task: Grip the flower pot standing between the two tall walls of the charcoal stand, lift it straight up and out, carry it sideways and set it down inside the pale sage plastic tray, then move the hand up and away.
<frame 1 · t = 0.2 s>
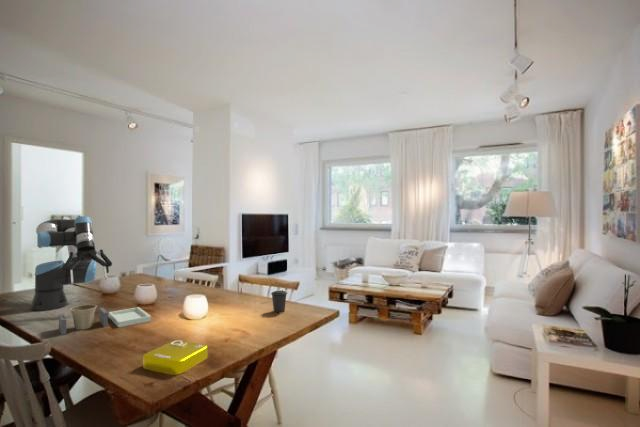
hand: (89, 281, 165), 16 cm above the table, tool tilted 35°, fingers open, 13 cm apart
coffee cup: (279, 311, 170), on the table
tray: (129, 319, 157), on the table
flower pot: (83, 328, 146), on the table
element tile: (176, 363, 112), on the table
walled stand: (83, 327, 146), on the table
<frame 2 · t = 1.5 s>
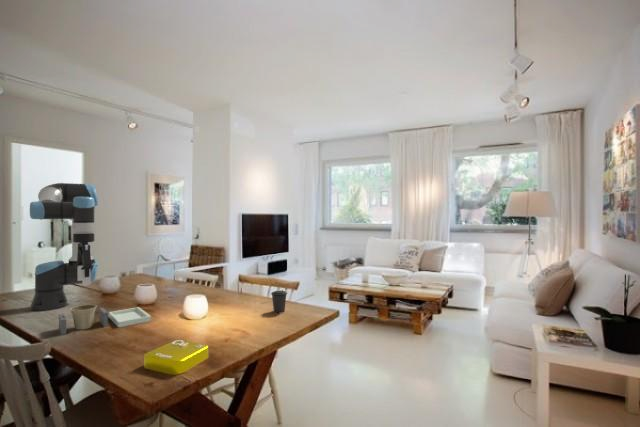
hand: (83, 282, 146), 19 cm above the table, tool pointing down, fingers open, 13 cm apart
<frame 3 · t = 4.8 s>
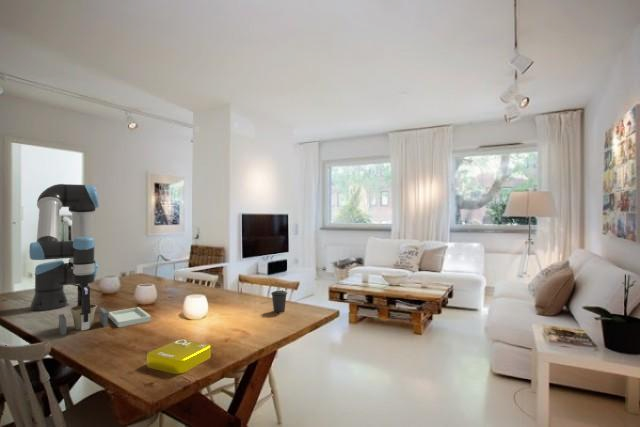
hand: (83, 326, 146), 0 cm above the table, tool pointing down, fingers closed on flower pot, 8 cm apart
flower pot: (83, 327, 146), on the table, touching gripper
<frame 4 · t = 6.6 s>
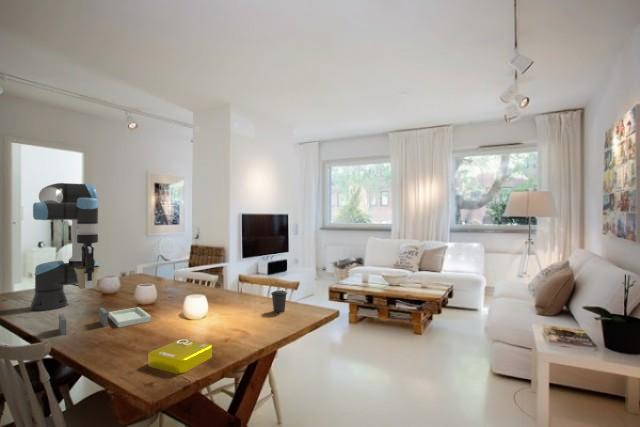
hand: (87, 286, 147), 17 cm above the table, tool pointing down, fingers closed on flower pot, 8 cm apart
flower pot: (87, 287, 147), point 17 cm above the table, touching gripper
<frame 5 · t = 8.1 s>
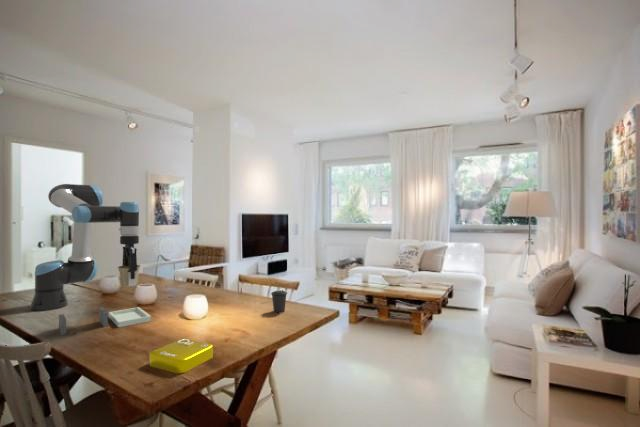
hand: (129, 284, 157), 16 cm above the table, tool pointing down, fingers closed on flower pot, 8 cm apart
flower pot: (129, 285, 157), point 15 cm above the table, touching gripper
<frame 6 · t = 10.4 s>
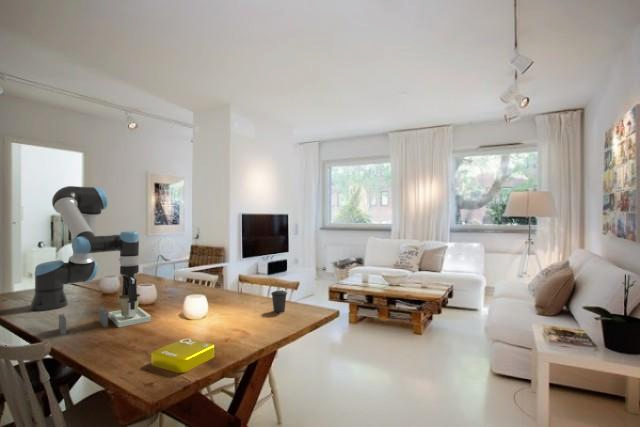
hand: (129, 314, 157), 2 cm above the table, tool pointing down, fingers closed on flower pot, 8 cm apart
flower pot: (129, 315, 157), point 2 cm above the table, touching gripper
when the fingers open (2 cm above the table, at t = 11.4 s): flower pot moves 5 cm, resting on tray.
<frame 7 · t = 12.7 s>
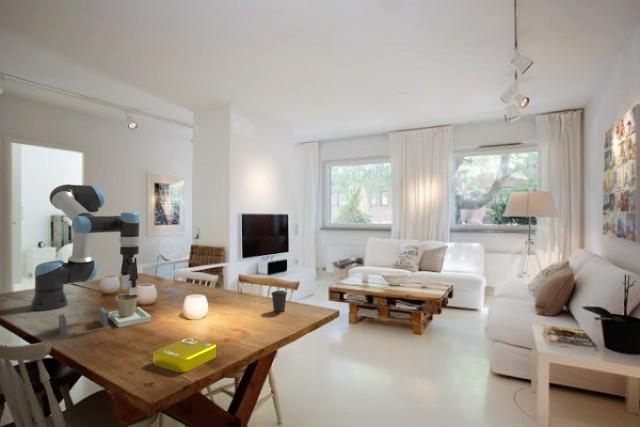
hand: (129, 291, 158), 13 cm above the table, tool pointing down, fingers open, 13 cm apart
flower pot: (126, 315, 160), point 1 cm above the table, touching tray
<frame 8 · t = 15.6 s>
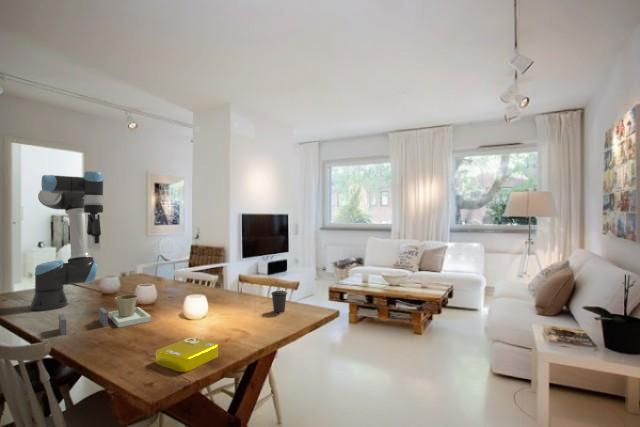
hand: (93, 249, 162), 32 cm above the table, tool pointing down, fingers open, 13 cm apart
at the end: flower pot inside the target area on the tray (4.3 cm from its centre), point 0.6 cm above the tray's base; flower pot tilted 0°; the gripper is holding nothing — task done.
